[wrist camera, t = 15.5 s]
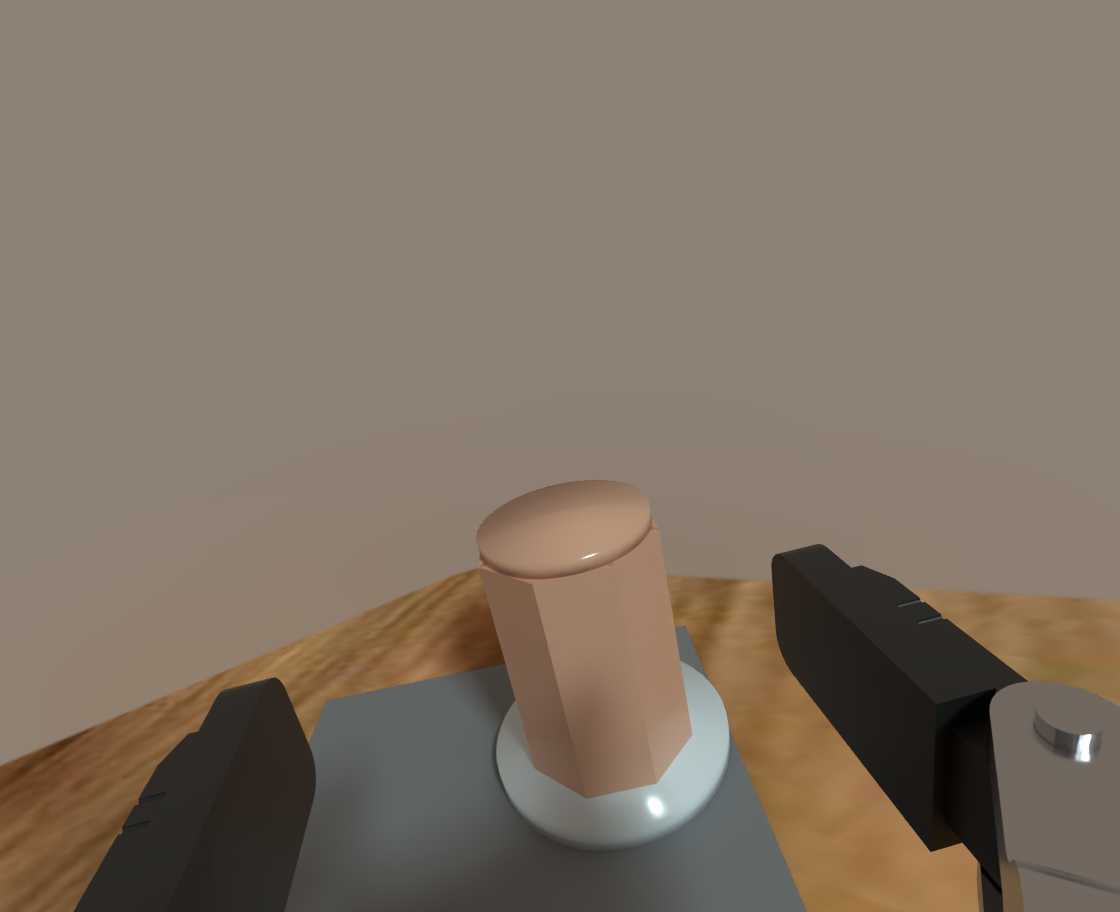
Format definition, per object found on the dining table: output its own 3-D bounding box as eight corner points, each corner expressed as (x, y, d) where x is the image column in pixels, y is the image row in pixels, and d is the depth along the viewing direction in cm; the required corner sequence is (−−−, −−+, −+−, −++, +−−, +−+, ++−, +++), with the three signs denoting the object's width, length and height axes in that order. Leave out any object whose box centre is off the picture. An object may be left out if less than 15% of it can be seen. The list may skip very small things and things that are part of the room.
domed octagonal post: (536, 809, 24) (470, 580, 20) (532, 690, 30) (480, 500, 26) (706, 773, 24) (668, 538, 20) (666, 662, 30) (632, 468, 26)
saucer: (497, 876, 22) (490, 857, 22) (504, 688, 32) (499, 672, 32) (767, 820, 22) (765, 800, 22) (694, 648, 32) (692, 632, 31)
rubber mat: (-46, 1635, 11) (-64, 1626, 11) (330, 709, 34) (326, 700, 34) (1020, 1428, 11) (1021, 1415, 11) (686, 634, 34) (684, 625, 34)
